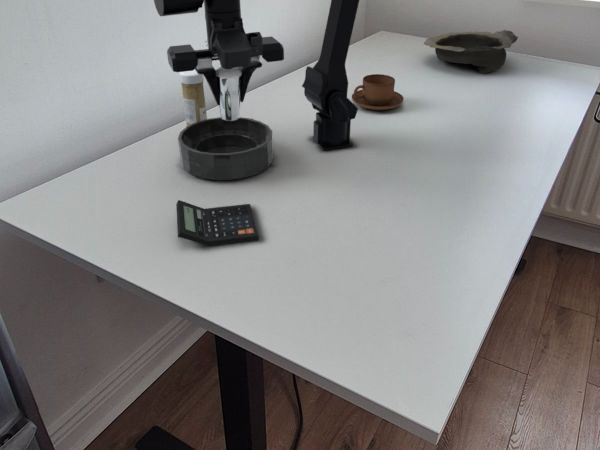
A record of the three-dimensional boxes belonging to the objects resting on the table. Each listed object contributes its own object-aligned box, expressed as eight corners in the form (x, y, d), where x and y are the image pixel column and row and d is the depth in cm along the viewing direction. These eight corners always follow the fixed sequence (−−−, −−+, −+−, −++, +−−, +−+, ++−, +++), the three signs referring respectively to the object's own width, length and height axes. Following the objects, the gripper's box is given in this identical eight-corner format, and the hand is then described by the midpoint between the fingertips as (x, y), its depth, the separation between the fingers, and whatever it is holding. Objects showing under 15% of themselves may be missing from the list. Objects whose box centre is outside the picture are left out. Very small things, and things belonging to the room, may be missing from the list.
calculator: (258, 240, 82) (257, 223, 80) (179, 249, 80) (177, 232, 78) (250, 208, 90) (249, 192, 88) (178, 216, 88) (175, 200, 86)
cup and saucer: (378, 118, 122) (381, 91, 119) (340, 104, 129) (341, 78, 126) (413, 105, 129) (416, 79, 125) (375, 92, 136) (377, 67, 133)
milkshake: (249, 114, 99) (248, 58, 94) (235, 124, 95) (234, 66, 90) (226, 110, 100) (224, 55, 95) (212, 120, 96) (209, 63, 91)
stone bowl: (526, 77, 145) (532, 41, 140) (431, 84, 146) (433, 49, 141) (499, 50, 165) (503, 18, 160) (416, 56, 167) (417, 24, 162)
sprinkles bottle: (212, 136, 114) (206, 72, 107) (192, 141, 112) (184, 76, 104) (203, 129, 117) (196, 66, 110) (183, 133, 115) (175, 70, 108)
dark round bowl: (258, 137, 113) (257, 112, 110) (284, 173, 100) (284, 146, 97) (175, 149, 109) (171, 123, 106) (191, 189, 95) (187, 161, 92)
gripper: (172, 25, 79) (185, 127, 87) (294, 15, 84) (295, 112, 92) (160, 10, 87) (173, 103, 96) (272, 1, 93) (274, 90, 101)
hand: (229, 102), depth 96 cm, fingers closed on milkshake, 4 cm apart
